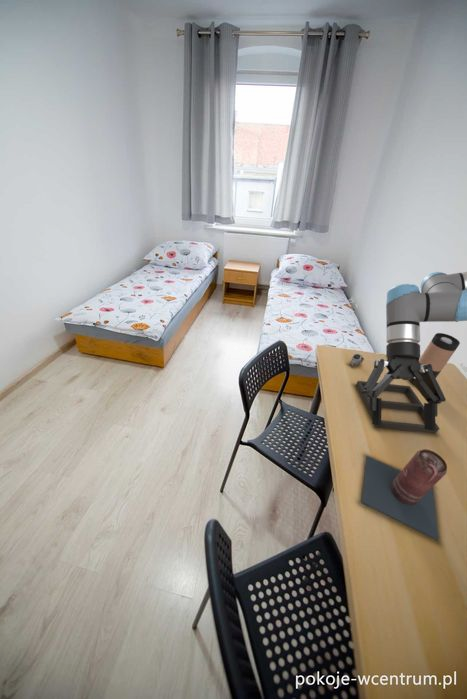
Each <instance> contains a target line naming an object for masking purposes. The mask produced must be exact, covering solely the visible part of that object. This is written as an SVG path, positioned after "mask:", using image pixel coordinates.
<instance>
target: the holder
mask: <svg viewBox="0 0 467 699" xmlns="http://www.w3.org/2000/svg"><path fill="white" fill-rule="evenodd" d="M366 382H367V381H366V380H357V382H356V384H355V388H356V391H357V392H358V394H359V397H360V398H361V401H362V402H363V405H364V407H365V409H366V411H367V413H368V415H369V417H370V420H371V421H372V410H370V408H369V403H370V398H369V397H368V396H367V395H365V394H362V390H363V388H364V386H365V384H366ZM378 383H379V382H377V383H376V385H377V384H378ZM376 385H375V386H376ZM374 388H375V387H374ZM385 391H386V392H394V393H404V394H405V395H406V397H407V398H408V399H409V401H410V402H403V401H394V400H393V401H392V400H384V399H382V406H381V409H391V410H400V411H409V412H417V413H418V414H419V416H420V417H421V419H422V420H423V421H424V403H422V401H421V400H420V398H419V397H418V395H417V394H416V393H415V392H414V390H413V389H412V387H411V386H410V385H403V384H394V383H390V384H389V385H388V386H387V387H386V388H385V390H384V391H383V392H385ZM435 425H436V431H434V430H427V429H425V425H424V424H421V423H410V422H402V421H401V422H400V421H390V420H384V419H383V420H382V419H381V425H374V424H373V426H374V428H376V429H385V430H392V431H393V430H395V431H405V432H415V433H424V434H434V435H435V434H437V432H439V430H440V429H441V428H440V427H439V426H438V423H436V422H435Z"/></svg>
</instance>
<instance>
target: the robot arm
mask: <svg viewBox="0 0 467 699" xmlns="http://www.w3.org/2000/svg"><path fill="white" fill-rule="evenodd" d="M385 310H386V311H385V313H386V315H385V316H386V318H385V320H386V343H387V344H386V345H385V346H386V350H385V351H386V353H385V354H386V356H385V357H386V359H387V360H384V358H380V359H379V358H378V359H376V360H375V361H374V362H373V363H374V364H373V368H372V371H371V372H370V375H369V377H368V379H367V380H366V381H365V382H366V384H365V386H364V388H363V390H362V394H365V395H367V396H368V397H369V399H370V403H369V408H370V410H372V420H371V424H372V425H373V426H374V425H381V420H382V408H381V406H382V400H383V399H382V397H379V396H380V395H382V393H383V392H385V391H384V390H385V388H386V387H387V386H388V385H389V384H392V382H393V381H394V380H403V381H409V383H411V382H412V383H413V384H414V385H413V384H412V383H411V384H412V385H413V386H414V387H415V388H416V389H417V391H418V392H419V393H420V394H421V396H422V397H423V398H424V400H425V401H426V402H424V403H423V406H424V420H423V422H424V423H423V425H425V429H427V430H434V431H436V425H435V423H436V417H438V413H439V411H438V404H442V402H443V403H444V402H446V400H447V399H446V396H445V395H444V393H443V390H442V389H441V386H440V385H439V382H438V380H437V377H436V378H435V376H434V374H433V370H432V365H431V364H425V365H420V364H419V359H420V357H421V344H419V343H420V342H421V325H420V323H428V322H429V323H430V322H431V323H432V322H434V323H435V322H436V323H438V322H439V323H440V322H445V323H446V322H447V323H449V322H451V323H453V322H455V323H458V322H466V321H467V271H463V272H455V273H449V274H447V273H445V272H442V271H441V272H440V271H435V272H431V273H429V274H428V275H426V276H425V277H424V278H423V279H422V281H421V282H420V287H419V286H418V285H416V284H409V283H402V284H397V285H394V286H392V287H390V288H389V290H388V291H387V292H386V306H385ZM385 368H386V369H387V372H386V373H385V374H384V376H383V377H382V379H380V377H381V375H382V374H383V371H384V369H385ZM419 370H420V372H421V373H422V376H423V378H424V380H425V382H426V383H425V382H424V381H423V378H422V376H421V375H420V374H419ZM379 379H380V381H379ZM378 381H379V382H378ZM376 383H378V384H377V385H376ZM375 385H376V386H375ZM374 387H375V388H374Z"/></svg>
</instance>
